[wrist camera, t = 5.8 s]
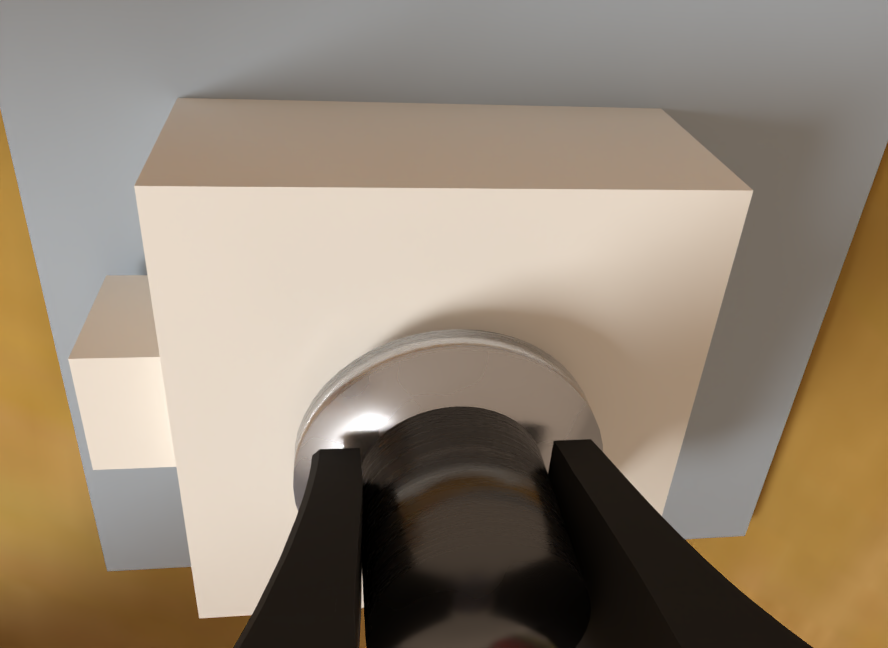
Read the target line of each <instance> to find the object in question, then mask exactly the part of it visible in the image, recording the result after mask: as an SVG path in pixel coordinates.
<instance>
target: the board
mask: <svg viewBox="0 0 888 648" xmlns="http://www.w3.org/2000/svg"><path fill="white" fill-rule="evenodd" d="M177 98H209V99H254V100H299V101H345V102H390V103H435V104H481V105H526V106H571V107H617V108H661V109H662V110H663V111H665V112H666V113H667V114H668V115H669V116H670V117H671V118H672V119H674V120H675V121H676V122H677V123H678V124H679V125H680V126H681V127H683V128H684V129H685V130H686V131H687V132H688V133H689V134H690V135H692V136H693V137H694V138H695V139H696V140H697V141H698V142H699V143H701V144H702V145H703V146H704V147H705V148H706V149H707V150H708V151H710V152H711V153H712V154H713V155H714V156H715V157H716V158H717V159H719V160H720V161H721V162H722V163H723V164H724V165H725V166H726V167H728V168H729V169H730V170H731V171H732V172H733V173H734V174H735V175H736V176H738V177H739V178H740V179H741V180H742V181H743V182H744V183H745V184H747V185H748V186H749V187H750V188H751V189H752V190H753V194H752V197H751V201H750V205H749V208H748V212H747V215H746V219H745V222H744V226H743V229H742V233H741V237H740V240H739V244H738V247H737V251H736V254H735V258H734V261H733V265H732V269H731V272H730V276H729V279H728V283H727V286H726V290H725V293H724V297H723V301H722V304H721V308H720V311H719V315H718V318H717V322H716V325H715V329H714V333H713V336H712V340H711V343H710V347H709V350H708V354H707V357H706V361H705V365H704V368H703V372H702V375H701V379H700V382H699V386H698V389H697V393H696V397H695V400H694V404H693V407H692V411H691V414H690V418H689V421H688V425H687V429H686V432H685V436H684V439H683V443H682V446H681V450H680V453H679V457H678V461H677V464H676V468H675V471H674V475H673V478H672V482H671V485H670V489H669V493H668V496H667V500H666V503H665V507H664V510H663V514H662V517H663V518H664V519H665V520H666V521H667V522H668V523H669V524H670V525H671V526H672V527H673V528H674V529H675V530H676V531H677V532H678V533H679V534H680V535H681V536H682V537H683V538H684V539H697V538H715V537H733V536H745V534H746V531H747V528H748V526H749V523H750V520H751V517H752V514H753V512H754V509H755V506H756V503H757V501H758V498H759V495H760V492H761V490H762V487H763V484H764V481H765V479H766V476H767V473H768V470H769V468H770V465H771V462H772V459H773V457H774V454H775V451H776V448H777V446H778V443H779V440H780V437H781V434H782V432H783V429H784V426H785V423H786V421H787V418H788V415H789V412H790V410H791V407H792V404H793V401H794V399H795V396H796V393H797V390H798V388H799V385H800V382H801V379H802V377H803V374H804V371H805V368H806V366H807V363H808V360H809V357H810V354H811V352H812V349H813V346H814V343H815V341H816V338H817V335H818V332H819V330H820V327H821V324H822V321H823V319H824V316H825V313H826V310H827V308H828V305H829V302H830V299H831V297H832V294H833V291H834V288H835V286H836V283H837V280H838V277H839V274H840V272H841V269H842V266H843V263H844V261H845V258H846V255H847V252H848V250H849V247H850V244H851V241H852V239H853V236H854V233H855V230H856V228H857V225H858V222H859V219H860V217H861V214H862V211H863V208H864V206H865V203H866V200H867V197H868V194H869V192H870V189H871V186H872V183H873V181H874V178H875V175H876V172H877V170H878V167H879V164H880V161H881V159H882V156H883V153H884V150H885V148H886V145H887V142H888V0H0V109H1V113H2V118H3V122H4V126H5V131H6V135H7V139H8V144H9V148H10V152H11V157H12V161H13V165H14V170H15V174H16V178H17V183H18V187H19V191H20V196H21V200H22V204H23V208H24V213H25V217H26V221H27V226H28V230H29V234H30V239H31V243H32V247H33V252H34V256H35V260H36V265H37V269H38V273H39V278H40V282H41V286H42V291H43V295H44V299H45V304H46V308H47V312H48V317H49V321H50V325H51V330H52V334H53V338H54V343H55V347H56V351H57V356H58V360H59V364H60V369H61V373H62V377H63V382H64V386H65V390H66V395H67V399H68V403H69V408H70V412H71V416H72V421H73V425H74V429H75V434H76V438H77V442H78V447H79V451H80V455H81V460H82V464H83V468H84V473H85V477H86V481H87V486H88V490H89V494H90V499H91V503H92V507H93V512H94V516H95V520H96V525H97V529H98V533H99V538H100V542H101V546H102V551H103V555H104V559H105V564H106V568H107V571H122V570H140V569H158V568H176V567H191V561H190V554H189V548H188V541H187V534H186V528H185V521H184V514H183V508H182V501H181V494H180V488H179V481H178V474H177V468H176V467H158V468H133V469H107V470H93V468H92V464H91V459H90V455H89V450H88V446H87V441H86V437H85V432H84V428H83V423H82V419H81V414H80V410H79V405H78V401H77V396H76V392H75V387H74V383H73V379H72V374H71V370H70V365H69V361H68V358H69V356H70V354H71V351H72V349H73V347H74V345H75V343H76V341H77V338H78V336H79V334H80V332H81V330H82V327H83V325H84V323H85V321H86V319H87V316H88V314H89V312H90V310H91V308H92V306H93V303H94V301H95V299H96V297H97V295H98V292H99V290H100V288H101V286H102V284H103V282H104V279H105V277H106V275H147V268H146V262H145V255H144V248H143V242H142V235H141V228H140V222H139V215H138V208H137V202H136V195H135V188H134V185H135V183H136V181H137V179H138V177H139V175H140V173H141V171H142V169H143V167H144V165H145V163H146V161H147V159H148V157H149V155H150V153H151V151H152V149H153V147H154V145H155V143H156V141H157V138H158V136H159V134H160V132H161V130H162V128H163V126H164V124H165V122H166V120H167V118H168V116H169V114H170V112H171V110H172V108H173V106H174V104H175V102H176V100H177Z"/></svg>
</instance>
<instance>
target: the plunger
mask: <svg viewBox="0 0 888 648" xmlns="http://www.w3.org/2000/svg"><path fill="white" fill-rule="evenodd" d="M583 439H591V440H592V441H593V442H594V443H595V444H596V445H597V446H598V447H599V448H600V449H601V450H602V451H603V443H602V438H601V434H600V429H599V427H598V424H597V422H596V419H595V417H594V414H593V412H592V410H591V408H590V406H589V403H588V401H587V399H586V397H585V394H584V392H583V390H582V389H581V387H580V386H579V384H578V383H577V381H576V379H575V378H574V377H573V376H572V375H571V373H570V372H569V371H568V370H567V369H566V368H565V367H564V366H563V365H562V364H561V363H560V362H558V361H557V360H556V359H555V358H553V357H552V356H551V355H549V354H548V353H546V352H544V351H543V350H541V349H539V348H538V347H536V346H534V345H532V344H529V343H527V342H525V341H522V340H520V339H518V338H514V337H511V336H507V335H504V334H500V333H495V332H488V331H482V330H468V329H451V330H437V331H431V332H425V333H420V334H414V335H411V336H407V337H404V338H401V339H397V340H394V341H391V342H389V343H387V344H384V345H382V346H380V347H377V348H375V349H373V350H371V351H369V352H367V353H366V354H364V355H362V356H360V357H359V358H357V359H355V360H354V361H352V362H351V363H350V364H348V365H347V366H346V367H344V368H343V369H342V370H340V371H339V372H338V373H337V374H336V375H335V376H334V377H333V378H331V379H330V380H329V381H328V382H327V383H326V384H325V385H324V386H323V388H322V389H321V390H320V391H319V393H318V394H317V395H316V396H315V398H314V399H313V401H312V402H311V404H310V406H309V407H308V409H307V411H306V412H305V414H304V417H303V419H302V422H301V424H300V427H299V429H298V433H297V438H296V442H295V452H294V476H293V490H294V497H295V503H296V506H297V509H298V511H299V508H300V505H301V502H302V499H303V496H304V492H305V489H306V485H307V482H308V477H309V473H310V468H311V461H312V455H313V454H314V453H316V452H317V451H318V450H319V449H340V448H360V456H361V466H362V478H363V506H362V554H361V561H362V580H363V599H364V617H365V636H366V646H367V648H576V646H577V645H578V643H579V642H580V641H581V639H582V637H583V635H584V634H585V632H586V630H587V627H588V624H589V621H590V614H591V601H590V598H589V594H588V590H587V588H586V585H585V582H584V579H583V576H582V573H581V570H580V567H579V564H578V561H577V558H576V555H575V552H574V549H573V546H572V543H571V540H570V537H569V535H568V532H567V529H566V526H565V523H564V520H563V517H562V514H561V511H560V508H559V505H558V502H557V499H556V496H555V493H554V490H553V487H552V484H551V482H550V479H549V476H548V471H549V465H550V459H551V453H552V447H553V441H556V440H583Z"/></svg>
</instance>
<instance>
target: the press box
mask: <svg viewBox="0 0 888 648" xmlns="http://www.w3.org/2000/svg"><path fill="white" fill-rule="evenodd" d="M134 188H135V195H136V202H137V208H138V215H139V222H140V228H141V235H142V242H143V248H144V255H145V262H146V268H147V275H106V277H105V279H104V282H103V284H102V286H101V288H100V290H99V292H98V295H97V297H96V299H95V301H94V303H93V306H92V308H91V310H90V312H89V314H88V316H87V319H86V321H85V323H84V325H83V327H82V330H81V332H80V334H79V336H78V338H77V341H76V343H75V345H74V347H73V349H72V351H71V354H70V356H69V358H68V361H69V365H70V370H71V374H72V379H73V383H74V387H75V392H76V396H77V401H78V405H79V410H80V414H81V419H82V423H83V428H84V432H85V437H86V441H87V446H88V450H89V455H90V459H91V464H92V468H93V470H107V469H133V468H158V467H176V468H177V474H178V481H179V488H180V494H181V501H182V508H183V514H184V521H185V528H186V534H187V541H188V548H189V554H190V561H191V568H192V574H193V581H194V588H195V594H196V601H197V607H198V614H199V618H215V617H230V616H246V615H252V614H253V612H254V610H255V608H256V606H257V604H258V602H259V600H260V598H261V596H262V594H263V592H264V590H265V588H266V586H267V584H268V582H269V580H270V578H271V575H272V573H273V571H274V569H275V567H276V565H277V563H278V561H279V559H280V556H281V554H282V552H283V549H284V547H285V544H286V542H287V539H288V537H289V534H290V532H291V529H292V527H293V524H294V522H295V519H296V517H297V514H298V509H297V506H296V503H295V497H294V490H293V476H294V452H295V442H296V438H297V433H298V429H299V427H300V424H301V422H302V419H303V417H304V414H305V412H306V411H307V409H308V407H309V406H310V404H311V402H312V401H313V399H314V398H315V396H316V395H317V394H318V393H319V391H320V390H321V389H322V388H323V386H324V385H325V384H326V383H327V382H328V381H329V380H330V379H331V378H333V377H334V376H335V375H336V374H337V373H338V372H339V371H340V370H342V369H343V368H344V367H346V366H347V365H348V364H350V363H351V362H352V361H354V360H355V359H357V358H359V357H360V356H362V355H364V354H366V353H367V352H369V351H371V350H373V349H375V348H377V347H380V346H382V345H384V344H387V343H389V342H391V341H394V340H397V339H401V338H404V337H407V336H411V335H414V334H420V333H425V332H431V331H437V330H451V329H468V330H482V331H488V332H495V333H500V334H504V335H507V336H511V337H514V338H518V339H520V340H522V341H525V342H527V343H529V344H532V345H534V346H536V347H538V348H539V349H541V350H543V351H544V352H546V353H548V354H549V355H551V356H552V357H553V358H555V359H556V360H557V361H558V362H560V363H561V364H562V365H563V366H564V367H565V368H566V369H567V370H568V371H569V372H570V373H571V375H572V376H573V377H574V378H575V379H576V381H577V383H578V384H579V386H580V387H581V389H582V390H583V392H584V394H585V397H586V399H587V401H588V403H589V406H590V408H591V410H592V412H593V414H594V417H595V419H596V422H597V424H598V427H599V429H600V434H601V438H602V443H603V453H604V454H605V455H606V456H607V457H608V458H609V459H610V460H611V461H612V463H613V464H614V465H615V466H616V467H617V468H618V469H619V470H620V472H621V473H622V474H623V475H624V476H625V477H626V478H627V479H628V480H629V481H630V483H631V484H632V485H633V486H634V487H635V488H636V489H637V490H638V491H639V492H640V493H641V495H642V496H643V497H644V498H645V499H646V500H647V501H648V502H649V503H650V504H651V505H652V506H653V507H654V509H655V510H656V511H657V512H658V513H659V514H660V515H661V516H662V514H663V510H664V507H665V503H666V500H667V496H668V493H669V489H670V485H671V482H672V478H673V475H674V471H675V468H676V464H677V461H678V457H679V453H680V450H681V446H682V443H683V439H684V436H685V432H686V429H687V425H688V421H689V418H690V414H691V411H692V407H693V404H694V400H695V397H696V393H697V389H698V386H699V382H700V379H701V375H702V372H703V368H704V365H705V361H706V357H707V354H708V350H709V347H710V343H711V340H712V336H713V333H714V329H715V325H716V322H717V318H718V315H719V311H720V308H721V304H722V301H723V297H724V293H725V290H726V286H727V283H728V279H729V276H730V272H731V269H732V265H733V261H734V258H735V254H736V251H737V247H738V244H739V240H740V237H741V233H742V229H743V226H744V222H745V219H746V215H747V212H748V208H749V205H750V201H751V197H752V194H753V190H752V189H751V188H750V187H749V186H748V185H747V184H745V183H744V182H743V181H742V180H741V179H740V178H739V177H738V176H736V175H735V174H734V173H733V172H732V171H731V170H730V169H729V168H728V167H726V166H725V165H724V164H723V163H722V162H721V161H720V160H719V159H717V158H716V157H715V156H714V155H713V154H712V153H711V152H710V151H708V150H707V149H706V148H705V147H704V146H703V145H702V144H701V143H699V142H698V141H697V140H696V139H695V138H694V137H693V136H692V135H690V134H689V133H688V132H687V131H686V130H685V129H684V128H683V127H681V126H680V125H679V124H678V123H677V122H676V121H675V120H674V119H672V118H671V117H670V116H669V115H668V114H667V113H666V112H665V111H663V110H662V109H661V108H617V107H571V106H526V105H481V104H435V103H390V102H345V101H299V100H254V99H209V98H177V100H176V102H175V104H174V106H173V108H172V110H171V112H170V114H169V116H168V118H167V120H166V122H165V124H164V126H163V128H162V130H161V132H160V134H159V136H158V138H157V141H156V143H155V145H154V147H153V149H152V151H151V153H150V155H149V157H148V159H147V161H146V163H145V165H144V167H143V169H142V171H141V173H140V175H139V177H138V179H137V181H136V183H135V185H134ZM361 608H364V599H363V580H362V599H361Z"/></svg>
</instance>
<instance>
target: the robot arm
mask: <svg viewBox="0 0 888 648" xmlns="http://www.w3.org/2000/svg"><path fill="white" fill-rule="evenodd" d="M548 476H549V479H550V482H551V484H552V487H553V490H554V493H555V496H556V499H557V502H558V505H559V508H560V511H561V514H562V517H563V520H564V523H565V526H566V529H567V532H568V535H569V537H570V540H571V543H572V546H573V549H574V552H575V555H576V558H577V561H578V564H579V567H580V570H581V573H582V576H583V579H584V582H585V585H586V588H587V590H588V594H589V598H590V601H591V614H590V621H589V624H588V627H587V630H586V632H585V634H584V635H583V637H582V639H581V641H580V642H579V643H578V645H577V646H576V648H813V647H811V646H810V645H809V644H807V643H806V642H805V641H803V640H802V639H801V638H799V637H798V636H797V635H795V634H794V633H792V632H791V631H790V630H788V629H787V628H786V627H785V626H783V625H782V624H781V623H779V622H778V621H777V620H776V619H774V618H773V617H772V616H771V615H769V614H768V613H767V612H766V611H764V610H763V609H762V608H761V607H759V606H758V605H757V604H756V603H754V602H753V601H752V600H751V599H749V598H748V597H747V596H746V595H745V594H743V593H742V592H741V591H740V590H739V589H738V588H736V587H735V586H734V585H733V584H732V583H731V582H729V581H728V580H727V579H726V578H725V577H724V576H723V575H722V574H721V573H720V572H719V571H717V570H716V569H715V568H714V567H713V566H712V565H711V564H710V563H709V562H708V561H706V560H705V559H704V558H703V557H702V556H701V555H700V554H699V553H698V552H697V551H696V550H695V549H694V548H693V547H692V546H691V545H690V544H689V543H688V542H687V541H686V540H685V539H684V538H683V537H682V536H681V535H680V534H679V533H678V532H677V531H676V530H675V529H674V528H673V527H672V526H671V525H670V524H669V523H668V522H667V521H666V520H665V519H664V518H663V517H662V516H661V515H660V514H659V513H658V512H657V511H656V510H655V509H654V507H653V506H652V505H651V504H650V503H649V502H648V501H647V500H646V499H645V498H644V497H643V496H642V495H641V493H640V492H639V491H638V490H637V489H636V488H635V487H634V486H633V485H632V484H631V483H630V481H629V480H628V479H627V478H626V477H625V476H624V475H623V474H622V473H621V472H620V470H619V469H618V468H617V467H616V466H615V465H614V464H613V463H612V461H611V460H610V459H609V458H608V457H607V456H606V455H605V454H604V453H603V451H602V450H601V449H600V448H599V447H598V446H597V445H596V444H595V443H594V442H593V441H592V440H591V439H583V440H556V441H553V447H552V453H551V459H550V465H549V471H548ZM362 506H363V478H362V466H361V456H360V448H340V449H319V450H318V451H317V452H316V453H314V454H313V455H312V461H311V468H310V473H309V477H308V482H307V485H306V489H305V492H304V496H303V499H302V502H301V505H300V508H299V511H298V514H297V517H296V519H295V522H294V524H293V527H292V529H291V532H290V534H289V537H288V539H287V542H286V544H285V547H284V549H283V552H282V554H281V556H280V559H279V561H278V563H277V565H276V567H275V569H274V571H273V573H272V575H271V578H270V580H269V582H268V584H267V586H266V588H265V590H264V592H263V594H262V596H261V598H260V600H259V602H258V604H257V606H256V608H255V610H254V612H253V614H252V616H251V617H250V619H249V621H248V623H247V625H246V627H245V628H244V630H243V632H242V634H241V635H240V637H239V639H238V641H237V642H236V644H235V646H234V647H233V648H359V642H360V623H361V599H362V561H361V554H362Z"/></svg>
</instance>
